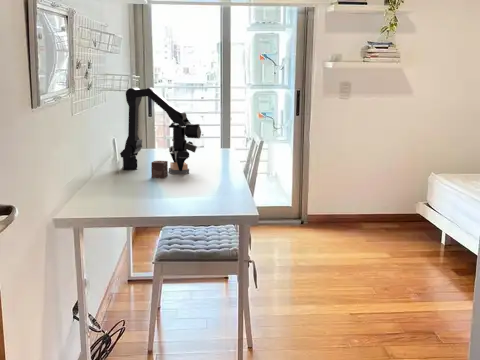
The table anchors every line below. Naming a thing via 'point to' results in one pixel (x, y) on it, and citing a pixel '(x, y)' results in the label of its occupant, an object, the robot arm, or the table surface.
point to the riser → (177, 171)
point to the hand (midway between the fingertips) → (178, 169)
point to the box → (159, 169)
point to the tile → (175, 166)
